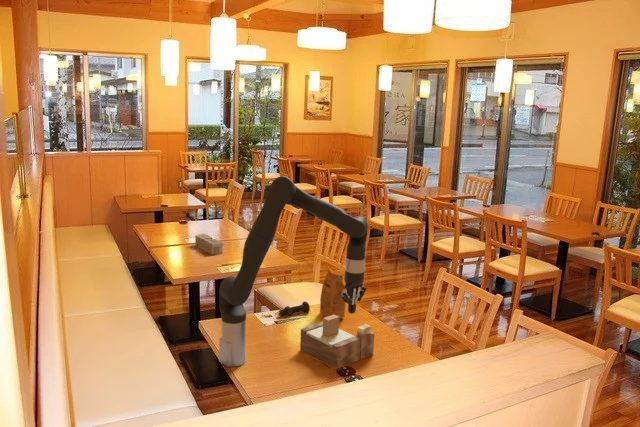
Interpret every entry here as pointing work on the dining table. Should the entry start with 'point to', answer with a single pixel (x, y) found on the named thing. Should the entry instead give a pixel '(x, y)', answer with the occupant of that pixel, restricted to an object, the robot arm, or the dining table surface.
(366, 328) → the tan wooden block
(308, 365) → the dining table surface
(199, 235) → the block tower
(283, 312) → the bolt
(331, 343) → the lid
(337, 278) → the coffee package
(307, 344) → the wooden box frame
